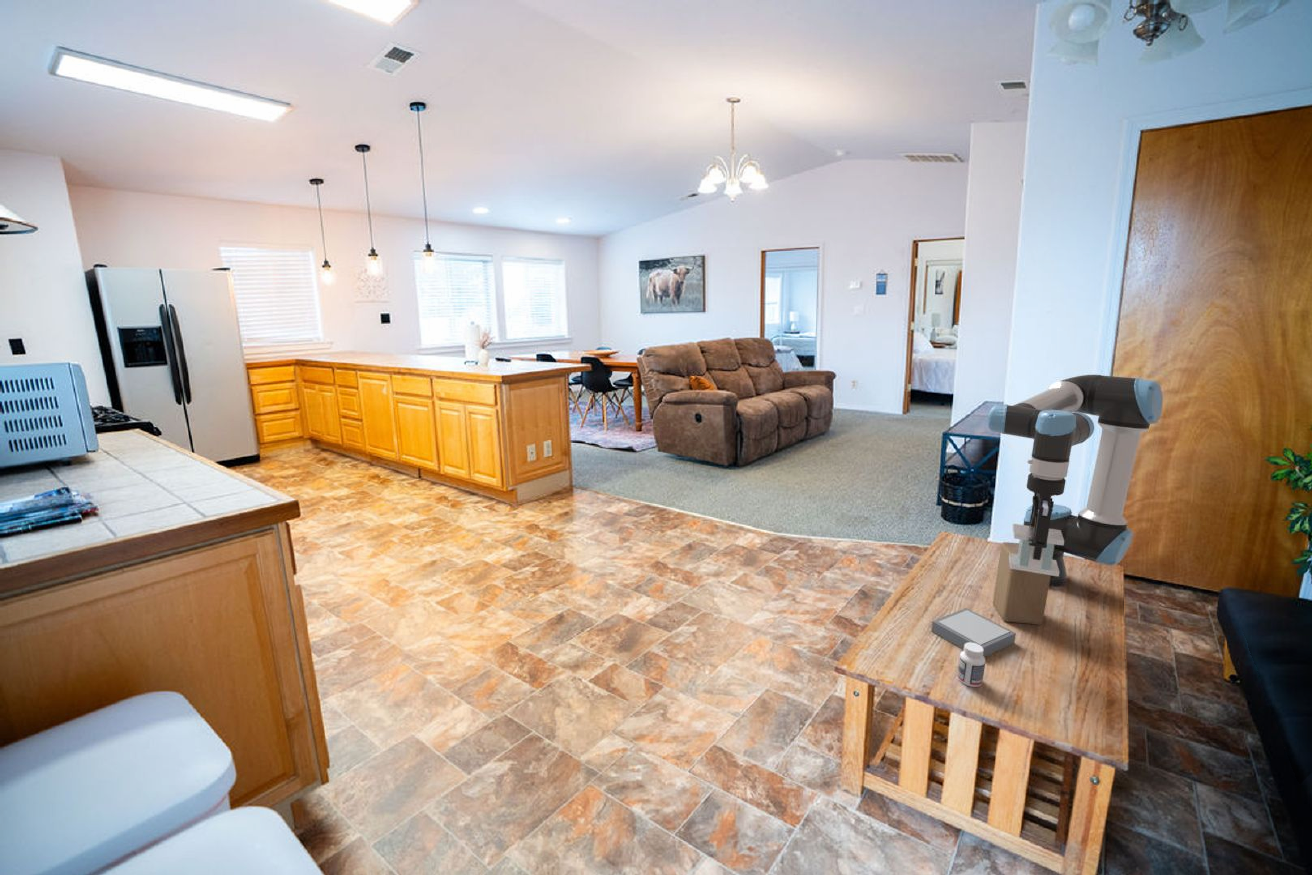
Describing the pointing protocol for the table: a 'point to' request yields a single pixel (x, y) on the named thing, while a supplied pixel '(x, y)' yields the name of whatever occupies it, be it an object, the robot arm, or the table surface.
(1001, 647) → the stand
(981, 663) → the pill bottle
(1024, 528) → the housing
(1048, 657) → the table surface
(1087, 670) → the table surface
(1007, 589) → the wooden block
